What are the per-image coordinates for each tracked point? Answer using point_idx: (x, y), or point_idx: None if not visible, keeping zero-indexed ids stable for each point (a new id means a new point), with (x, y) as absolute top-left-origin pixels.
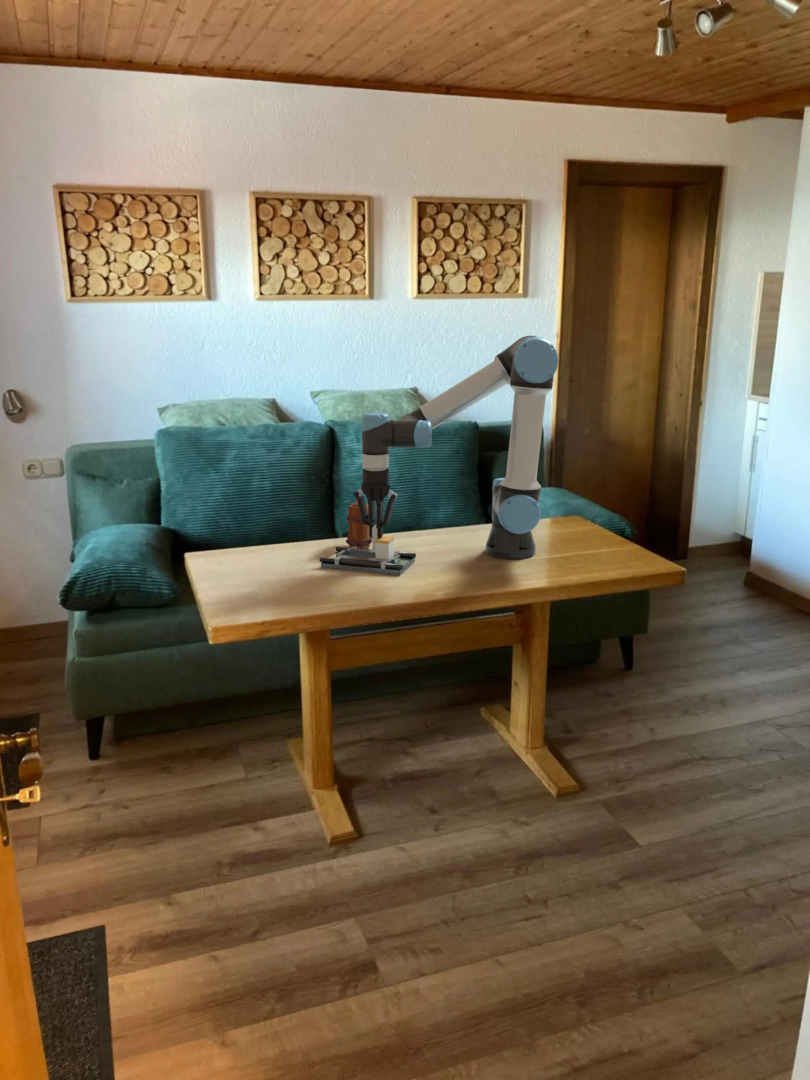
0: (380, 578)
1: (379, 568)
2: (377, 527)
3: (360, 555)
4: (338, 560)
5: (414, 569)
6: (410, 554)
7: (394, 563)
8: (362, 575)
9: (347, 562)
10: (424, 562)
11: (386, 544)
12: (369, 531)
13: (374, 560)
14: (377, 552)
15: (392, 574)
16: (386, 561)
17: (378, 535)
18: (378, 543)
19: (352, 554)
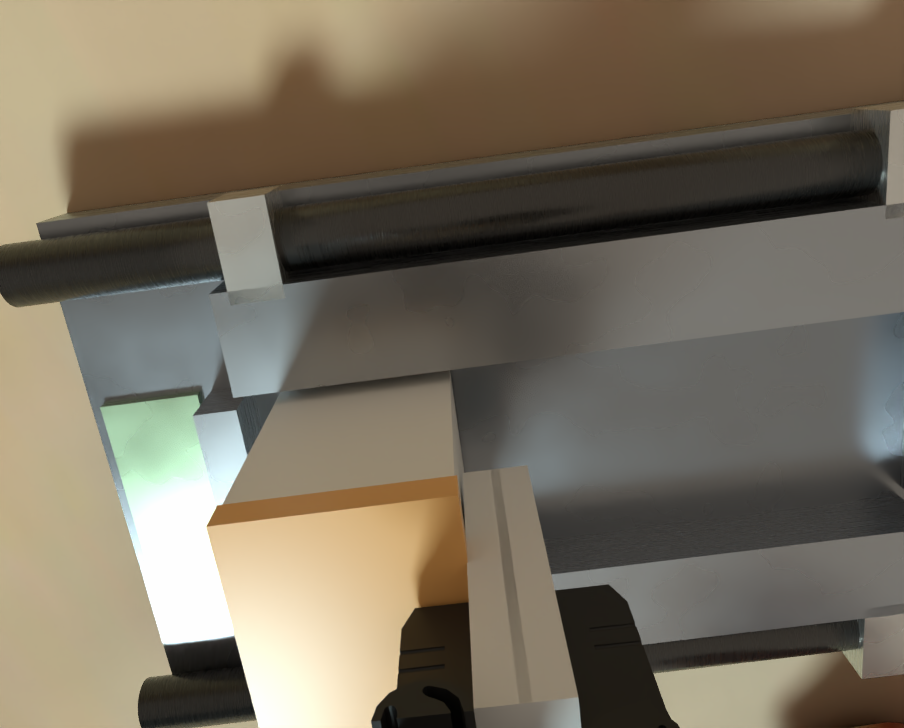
0: (208, 17)
1: (305, 194)
2: (428, 697)
3: (730, 521)
4: (886, 111)
5: (63, 472)
6: (188, 693)
7: (212, 397)
8: (464, 34)
9: (751, 146)
10: (108, 693)
11: (261, 493)
12: (640, 654)
13: (411, 281)
14: (421, 414)
15: (154, 203)
16: (246, 306)
17: (452, 634)
18: (399, 479)
19: (830, 513)
